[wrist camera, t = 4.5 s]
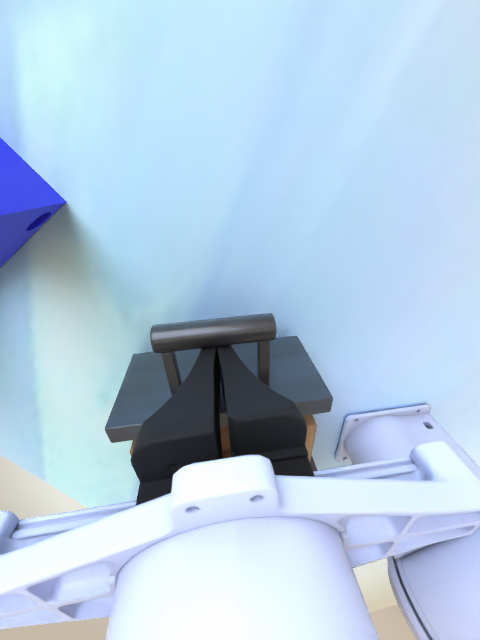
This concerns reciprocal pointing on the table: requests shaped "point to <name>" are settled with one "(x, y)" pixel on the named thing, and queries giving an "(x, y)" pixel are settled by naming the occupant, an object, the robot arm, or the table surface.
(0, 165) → the cable clip
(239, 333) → the drawer
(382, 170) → the table surface
